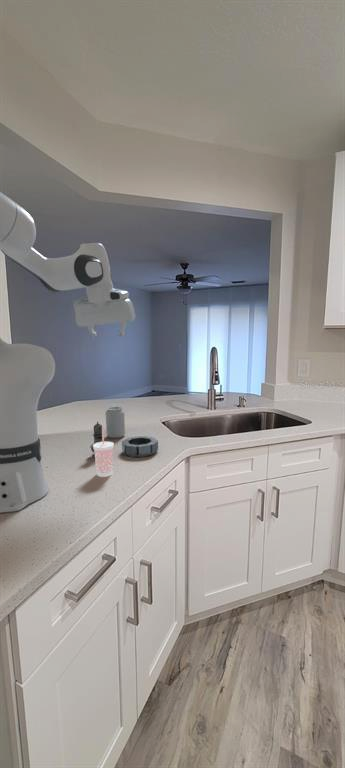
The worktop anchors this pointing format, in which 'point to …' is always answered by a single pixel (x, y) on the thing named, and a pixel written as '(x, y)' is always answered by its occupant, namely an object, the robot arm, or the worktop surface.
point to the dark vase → (97, 436)
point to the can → (115, 422)
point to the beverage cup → (104, 457)
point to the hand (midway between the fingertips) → (108, 337)
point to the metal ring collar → (139, 446)
